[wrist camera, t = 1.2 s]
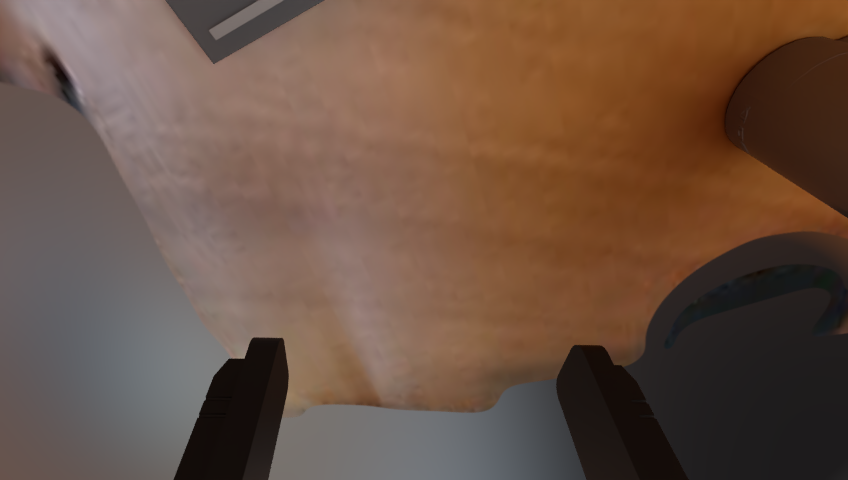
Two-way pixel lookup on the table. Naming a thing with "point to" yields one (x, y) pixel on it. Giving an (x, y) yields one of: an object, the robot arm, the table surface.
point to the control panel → (234, 21)
